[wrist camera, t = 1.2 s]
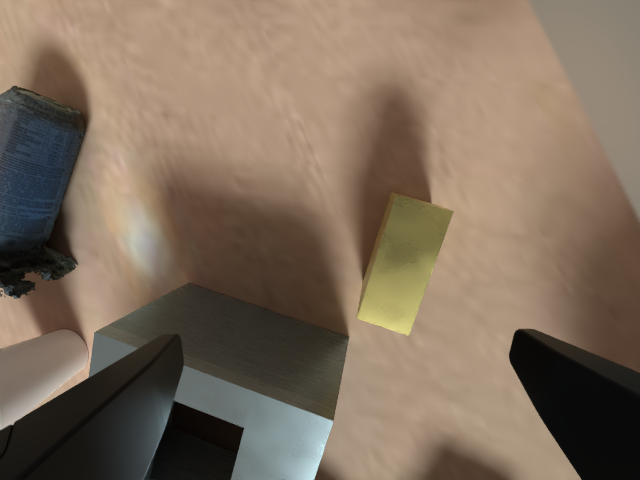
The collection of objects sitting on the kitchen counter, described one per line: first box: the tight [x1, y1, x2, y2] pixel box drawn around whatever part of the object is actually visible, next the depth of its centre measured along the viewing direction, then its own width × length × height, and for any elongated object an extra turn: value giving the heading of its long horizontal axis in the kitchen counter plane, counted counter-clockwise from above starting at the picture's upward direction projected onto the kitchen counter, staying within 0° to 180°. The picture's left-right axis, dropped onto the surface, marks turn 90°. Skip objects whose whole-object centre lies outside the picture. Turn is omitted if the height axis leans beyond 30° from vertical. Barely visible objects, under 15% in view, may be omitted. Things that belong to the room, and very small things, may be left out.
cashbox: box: [89, 283, 349, 480], centre depth 20 cm, size 12×13×8 cm
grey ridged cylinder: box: [0, 86, 85, 299], centre depth 21 cm, size 9×8×12 cm
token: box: [357, 192, 454, 336], centre depth 18 cm, size 2×6×6 cm, turn 165°
